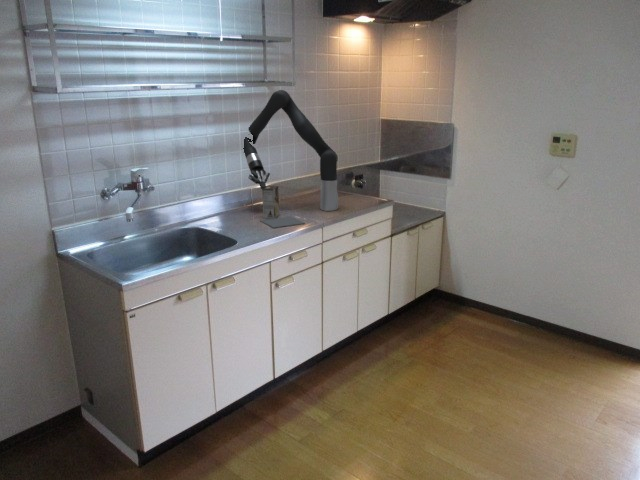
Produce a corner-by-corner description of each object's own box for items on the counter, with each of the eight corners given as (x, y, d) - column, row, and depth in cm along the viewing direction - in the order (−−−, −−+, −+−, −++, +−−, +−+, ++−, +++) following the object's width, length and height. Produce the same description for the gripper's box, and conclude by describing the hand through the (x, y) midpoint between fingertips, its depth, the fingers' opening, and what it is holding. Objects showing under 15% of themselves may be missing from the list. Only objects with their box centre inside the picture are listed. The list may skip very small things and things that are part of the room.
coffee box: (267, 214, 289) (267, 185, 284) (279, 215, 288) (278, 186, 283) (262, 218, 280) (262, 188, 276) (274, 219, 279) (273, 189, 274)
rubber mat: (291, 217, 283) (291, 216, 283) (305, 224, 270) (305, 222, 270) (260, 221, 275) (260, 220, 275) (273, 228, 261) (273, 227, 261)
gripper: (245, 160, 288) (254, 185, 281) (267, 158, 294) (277, 183, 287) (241, 168, 294) (251, 193, 287) (263, 166, 300) (273, 191, 293)
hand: (264, 188), depth 287 cm, fingers closed
